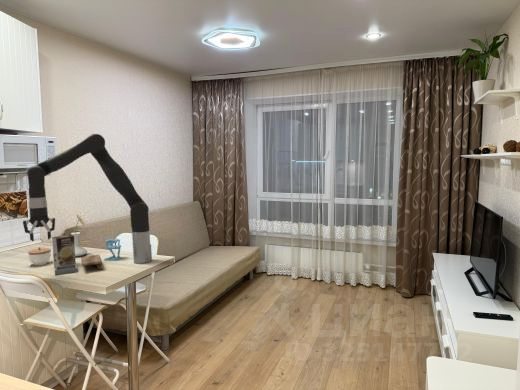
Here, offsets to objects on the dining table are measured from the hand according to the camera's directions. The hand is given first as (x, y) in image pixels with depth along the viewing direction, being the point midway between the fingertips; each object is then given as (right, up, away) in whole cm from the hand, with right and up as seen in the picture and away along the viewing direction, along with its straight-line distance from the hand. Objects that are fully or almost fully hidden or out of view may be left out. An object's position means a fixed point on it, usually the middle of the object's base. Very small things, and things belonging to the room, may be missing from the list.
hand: (40, 239), depth 180 cm
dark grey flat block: (+9, -17, +6) cm, 20 cm away
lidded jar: (-13, -16, +22) cm, 31 cm away
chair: (+24, -15, +30) cm, 41 cm away
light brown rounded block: (+19, -16, +13) cm, 28 cm away
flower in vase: (-2, -14, +40) cm, 42 cm away
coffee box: (+2, -16, +18) cm, 25 cm away
